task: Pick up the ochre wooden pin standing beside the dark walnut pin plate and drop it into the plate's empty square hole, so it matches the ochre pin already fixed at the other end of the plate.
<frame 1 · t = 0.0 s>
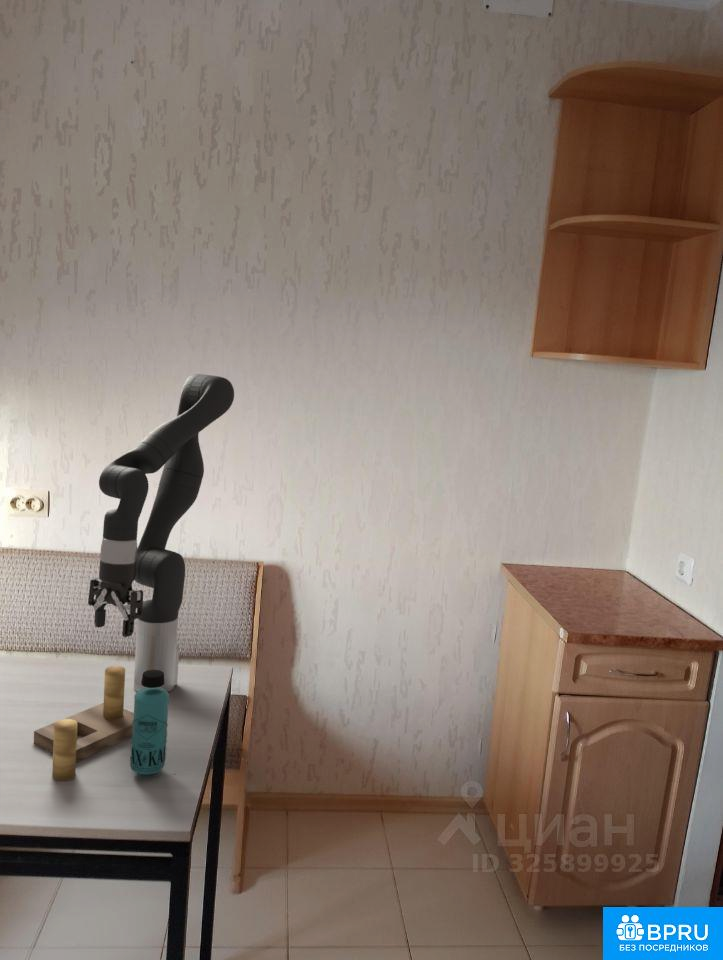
hand: (113, 631, 172), 17 cm above the table, tool pointing down, fingers open, 8 cm apart
pin plate: (91, 736, 160), on the table
pin: (64, 775, 145), on the table
beverage bottle: (147, 774, 148), on the table
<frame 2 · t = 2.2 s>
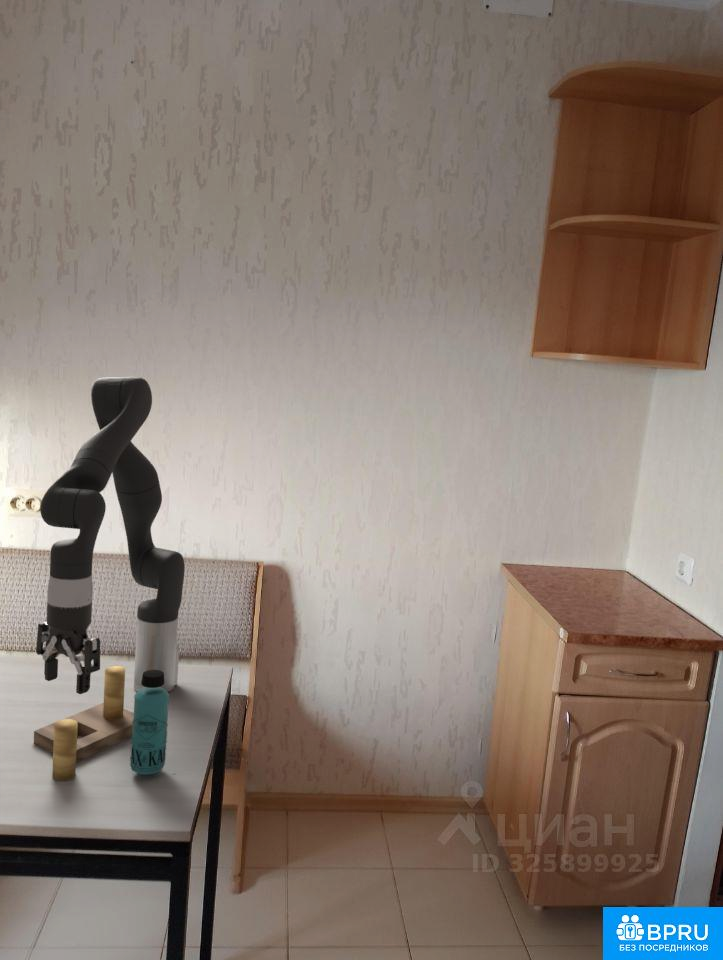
hand: (66, 685, 143), 17 cm above the table, tool pointing down, fingers open, 8 cm apart
nothing on the table moved.
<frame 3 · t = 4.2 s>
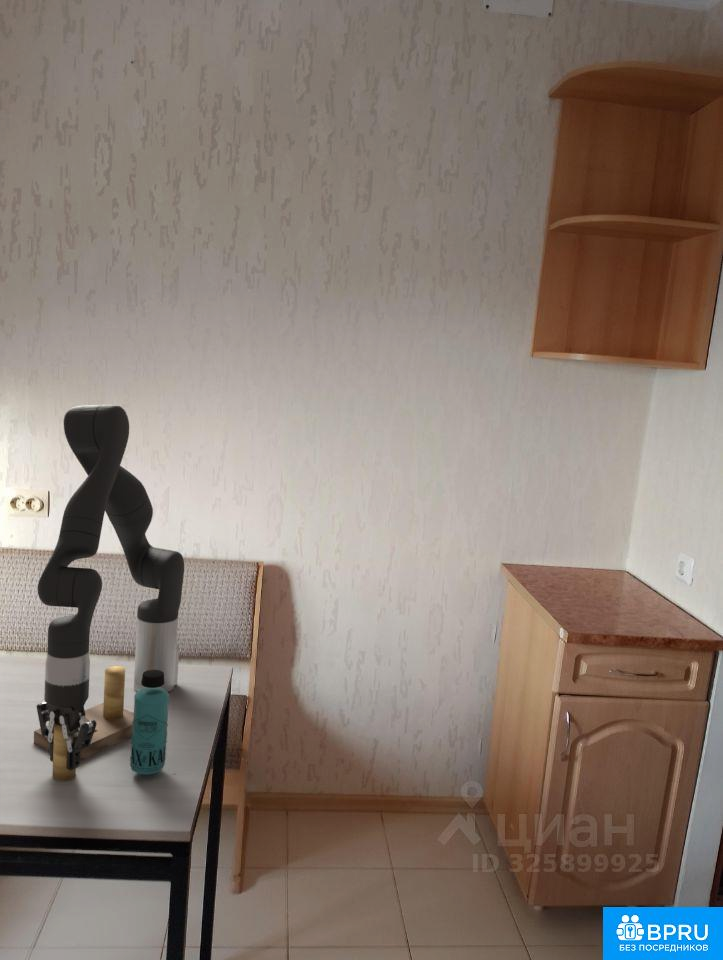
hand: (64, 763, 145), 2 cm above the table, tool pointing down, fingers closed on pin, 4 cm apart
pin: (64, 775, 145), on the table, touching gripper
everything else where it was.
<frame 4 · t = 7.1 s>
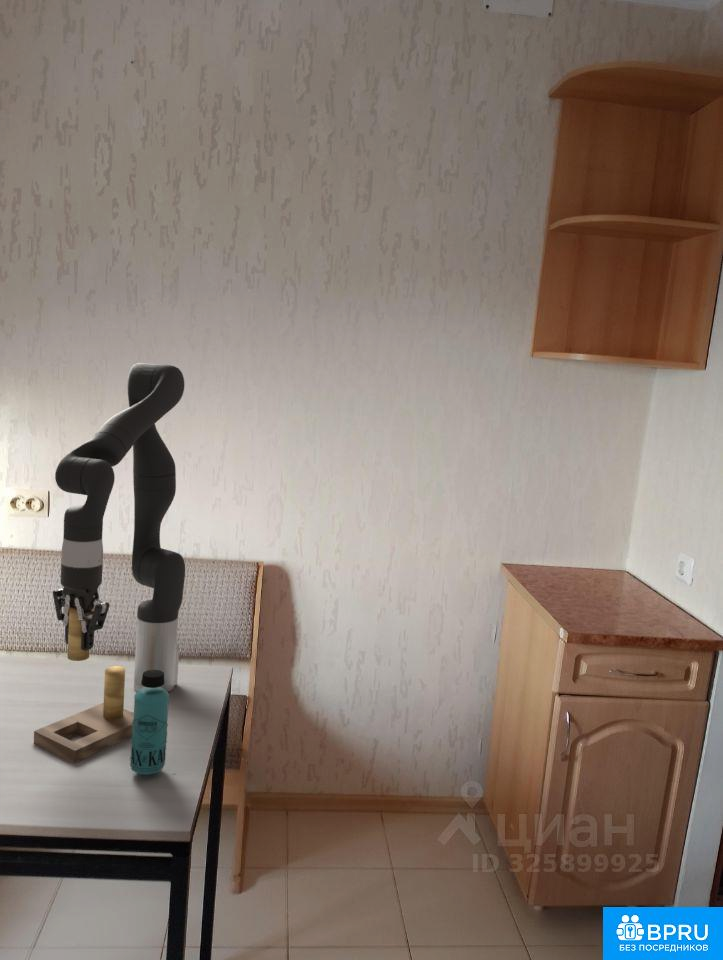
hand: (78, 645, 154), 20 cm above the table, tool pointing down, fingers closed on pin, 4 cm apart
pin: (78, 657, 154), point 18 cm above the table, touching gripper
everything else where it was.
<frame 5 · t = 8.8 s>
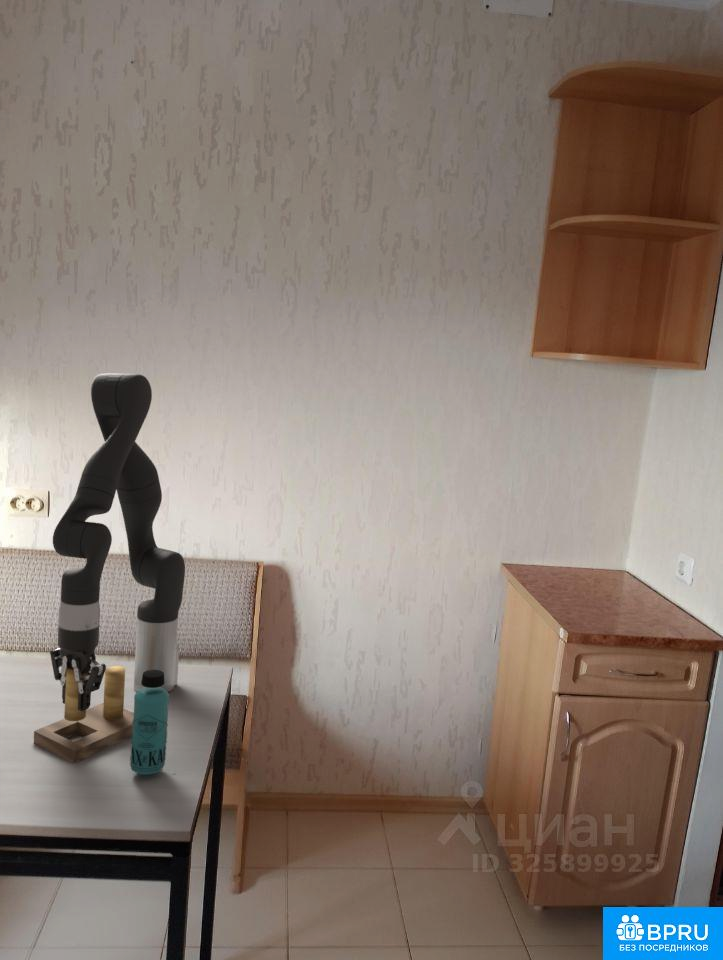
hand: (75, 705, 156), 8 cm above the table, tool pointing down, fingers closed on pin, 4 cm apart
pin: (75, 716, 156), point 6 cm above the table, touching gripper
everything else where it was.
when the fingers open (4 cm above the table, at t = 10.0 s): pin drops 1 cm, resting in pin plate.
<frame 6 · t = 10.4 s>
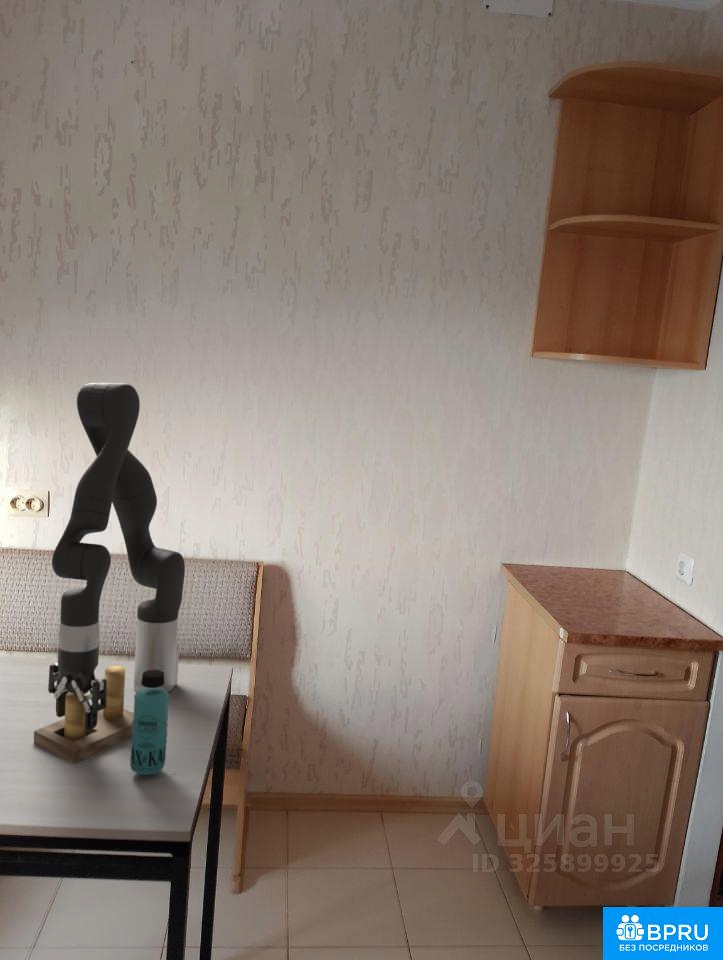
hand: (75, 721, 156), 5 cm above the table, tool pointing down, fingers open, 8 cm apart
pin: (74, 743, 157), resting in pin plate
everything else where it was.
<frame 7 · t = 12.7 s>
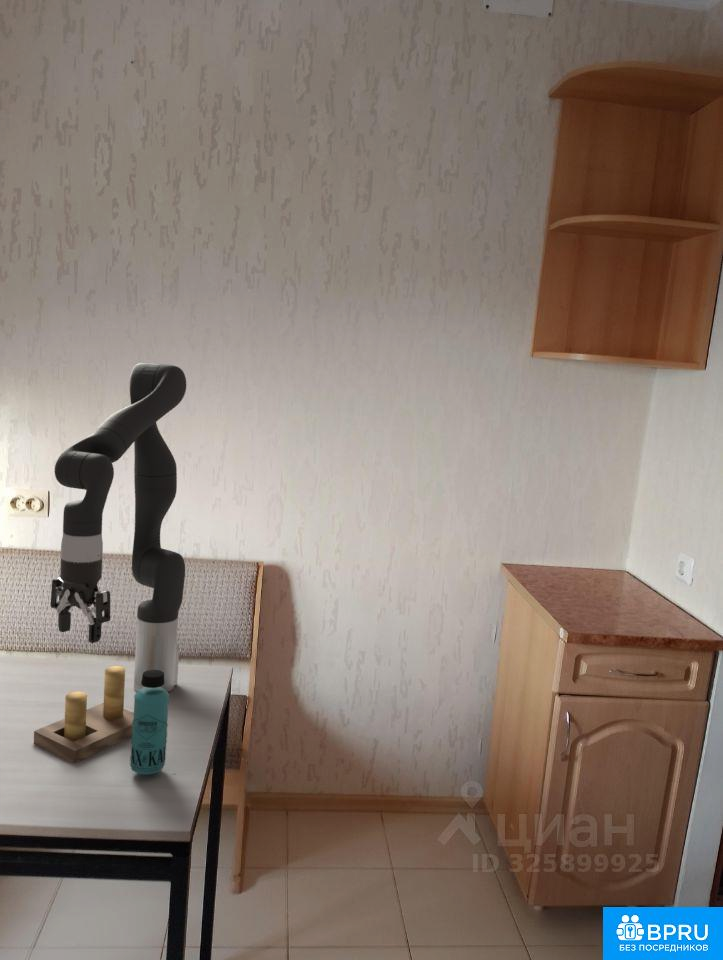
hand: (79, 636, 154), 22 cm above the table, tool pointing down, fingers open, 8 cm apart
nothing on the table moved.
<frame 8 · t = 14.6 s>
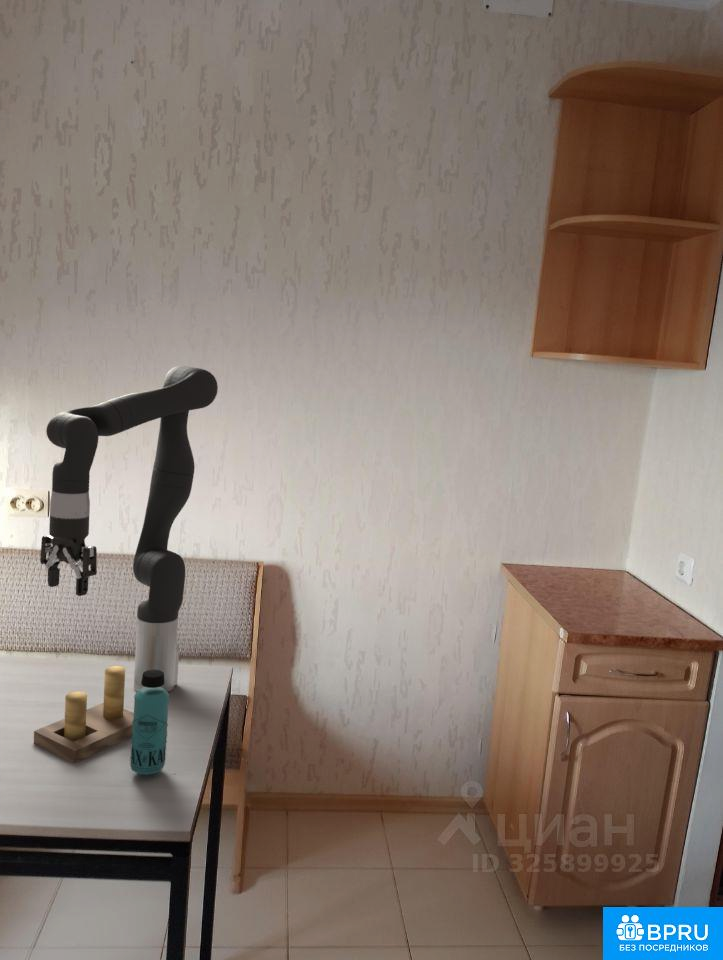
hand: (67, 590, 162), 28 cm above the table, tool pointing down, fingers open, 8 cm apart
nothing on the table moved.
at the end: pin 0.1 cm from the target spot on the pin plate, point 0.0 cm above the pin plate's base; pin tilted 0°; the gripper is holding nothing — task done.
